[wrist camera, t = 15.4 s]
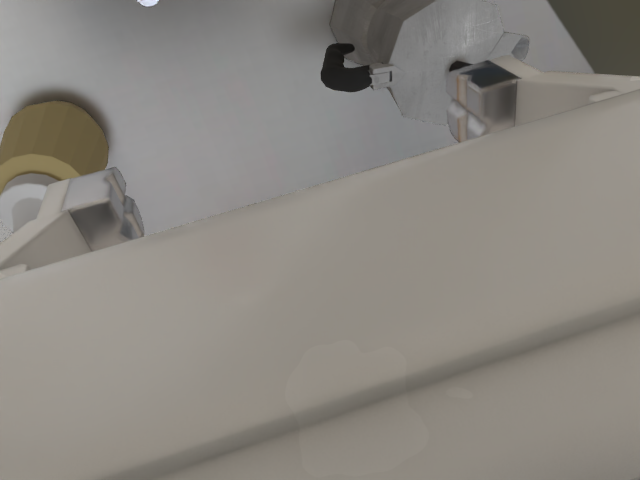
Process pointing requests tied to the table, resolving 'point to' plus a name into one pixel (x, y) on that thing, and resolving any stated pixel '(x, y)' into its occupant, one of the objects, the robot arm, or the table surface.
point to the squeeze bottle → (45, 156)
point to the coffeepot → (414, 48)
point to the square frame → (147, 2)
